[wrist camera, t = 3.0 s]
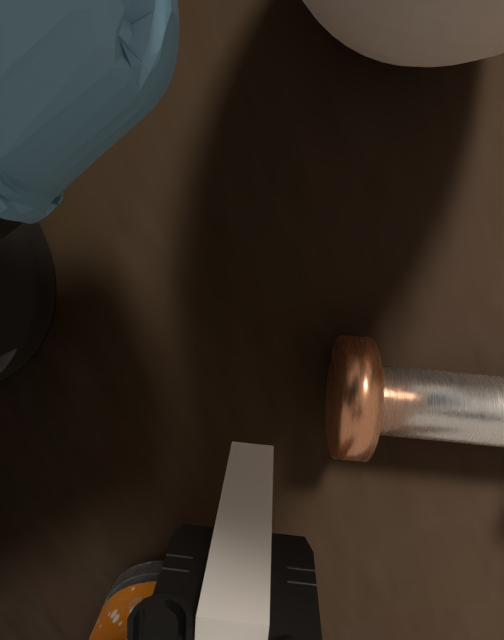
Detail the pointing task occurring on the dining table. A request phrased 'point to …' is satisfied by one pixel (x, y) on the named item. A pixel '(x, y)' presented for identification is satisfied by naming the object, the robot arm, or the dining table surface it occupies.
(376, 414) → the bolt
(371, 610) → the dining table surface
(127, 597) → the canister
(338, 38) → the vase
